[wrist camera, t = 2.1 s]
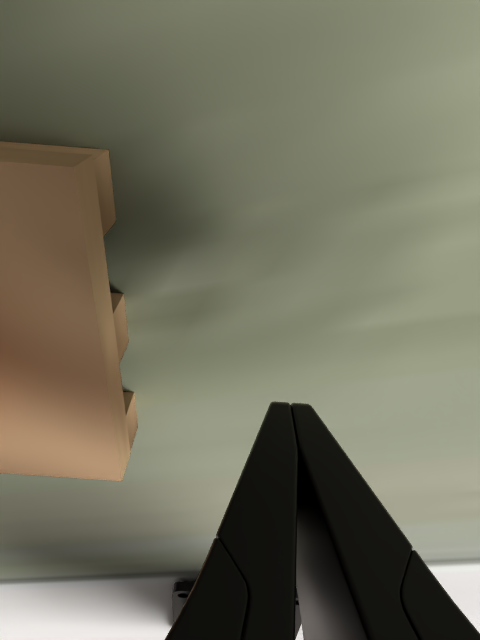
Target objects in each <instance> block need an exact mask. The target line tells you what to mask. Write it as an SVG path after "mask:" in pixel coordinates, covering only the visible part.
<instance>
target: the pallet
mask: <svg viewBox="0 0 480 640" xmlns="http://www.w3.org/2000/svg"><path fill="white" fill-rule="evenodd" d="M115 222H116V215H115V206H114V196H113V187H112V177H111V168H110V158H109V150H105V149H92V148H79V147H66V146H54V145H41V144H28V143H15V142H3V141H0V473H9V474H24V475H39V476H54V477H68V478H83V479H98V480H113V481H122V480H123V477H124V473H125V470H126V467H127V463H128V460H129V457H130V454H131V452H130V451H131V448H132V444H133V441H134V438H135V435H136V431H137V428H138V424H137V414H136V405H135V395H134V392H123V389H122V381H121V373H120V365H119V364H120V361H121V359H122V357H123V354H124V352H125V350H126V347H127V345H128V343H129V338H128V329H127V319H126V310H125V301H124V294H120V293H110V286H109V279H108V271H107V263H106V255H105V247H104V239H103V237H104V236H105V234H106V233H107V232H108V231H109V229H110V228H111V227H112V226H113V224H114V223H115Z"/></svg>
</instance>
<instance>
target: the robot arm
mask: <svg viewBox="0 0 480 640" xmlns="http://www.w3.org/2000/svg"><path fill="white" fill-rule="evenodd" d="M412 548H413V547H412V545H411V544H410V542H409V541H408V539H407V538H406V537H405V535H404V534H403V532H402V531H401V530H400V528H399V527H398V525H397V524H396V523H395V521H394V520H393V519H392V517H391V516H390V514H389V513H388V512H387V510H386V509H385V507H384V506H383V505H382V503H381V502H380V501H379V499H378V498H377V496H376V495H375V494H374V492H373V491H372V489H371V488H370V487H369V485H368V484H367V482H366V481H365V480H364V478H363V477H362V476H361V474H360V473H359V471H358V470H357V469H356V467H355V466H354V464H353V463H352V462H351V460H350V459H349V458H348V456H347V455H346V453H345V452H344V451H343V449H342V448H341V446H340V445H339V444H338V442H337V441H336V439H335V438H334V437H333V435H332V434H331V433H330V431H329V430H328V428H327V427H326V426H325V424H324V423H323V421H322V420H321V419H320V417H319V416H318V415H317V413H316V412H315V410H314V409H313V408H312V406H311V405H309V404H302V403H292V404H291V405H290V404H289V403H287V402H271V404H270V406H269V408H268V411H267V413H266V415H265V418H264V420H263V423H262V425H261V427H260V430H259V432H258V435H257V437H256V440H255V442H254V444H253V447H252V449H251V452H250V454H249V456H248V459H247V461H246V464H245V466H244V469H243V471H242V473H241V476H240V478H239V481H238V483H237V486H236V488H235V490H234V493H233V495H232V498H231V500H230V502H229V505H228V507H227V510H226V512H225V515H224V517H223V519H222V522H221V524H220V527H219V529H218V531H217V534H216V538H215V539H214V540H213V543H212V545H211V548H210V550H209V553H208V555H207V558H206V560H205V562H204V564H203V566H202V569H201V571H200V573H199V575H198V577H197V580H196V582H177V583H175V584H174V587H173V594H172V598H173V617H174V624H173V626H172V628H171V629H170V631H169V633H168V635H167V636H166V638H165V640H295V639H296V636H297V633H298V631H299V628H300V625H301V623H302V629H303V637H304V640H480V633H479V632H478V631H477V630H476V628H475V627H474V626H473V625H472V624H471V622H470V621H469V620H468V619H467V617H466V616H465V615H464V614H463V613H462V611H461V610H460V609H459V608H458V606H457V605H456V604H455V603H454V602H453V600H452V599H451V598H450V596H449V595H448V594H447V592H446V591H445V590H444V588H443V587H442V586H441V584H440V583H439V582H438V580H437V579H436V578H435V576H434V575H433V574H432V572H431V571H430V570H429V568H428V567H427V566H426V564H425V563H424V561H423V560H422V559H421V557H420V556H419V554H418V553H417V552H416V551H415V550H412ZM296 585H297V588H296Z"/></svg>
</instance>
